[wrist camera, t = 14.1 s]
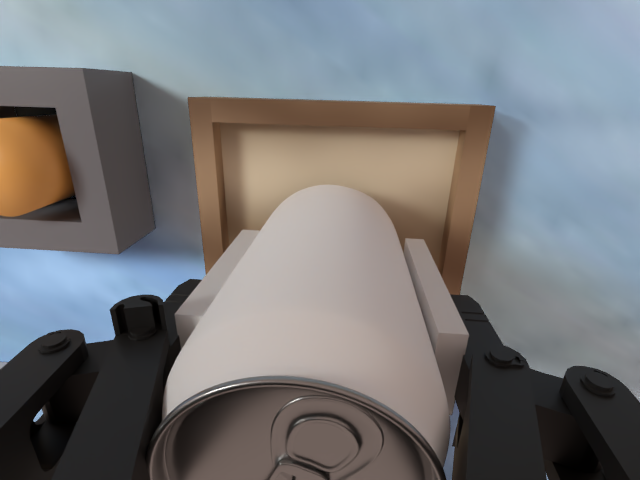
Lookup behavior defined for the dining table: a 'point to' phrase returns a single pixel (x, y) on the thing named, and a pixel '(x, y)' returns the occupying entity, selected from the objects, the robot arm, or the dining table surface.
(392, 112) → the divided wooden tray
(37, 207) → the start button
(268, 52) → the dining table surface
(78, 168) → the grey square egg holder
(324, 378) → the can
